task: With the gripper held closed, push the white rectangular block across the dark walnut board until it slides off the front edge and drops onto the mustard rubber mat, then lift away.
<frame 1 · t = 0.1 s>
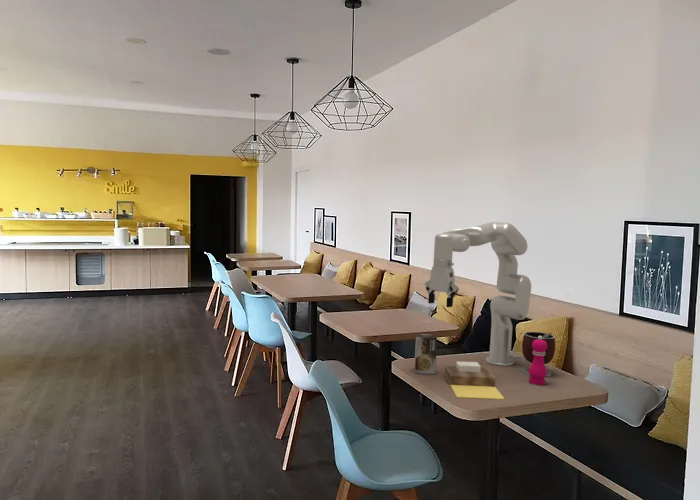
hand: (440, 305, 229), 31 cm above the table, tool pointing down, fingers open, 9 cm apart
mustard mat: (476, 392, 215), on the table
walnut board: (468, 381, 229), on the table
pepper mill: (536, 383, 231), on the table
white rectangular block: (468, 366, 232), point 5 cm above the table, touching walnut board
mate gourd: (537, 373, 245), on the table
coffee box: (424, 372, 240), on the table
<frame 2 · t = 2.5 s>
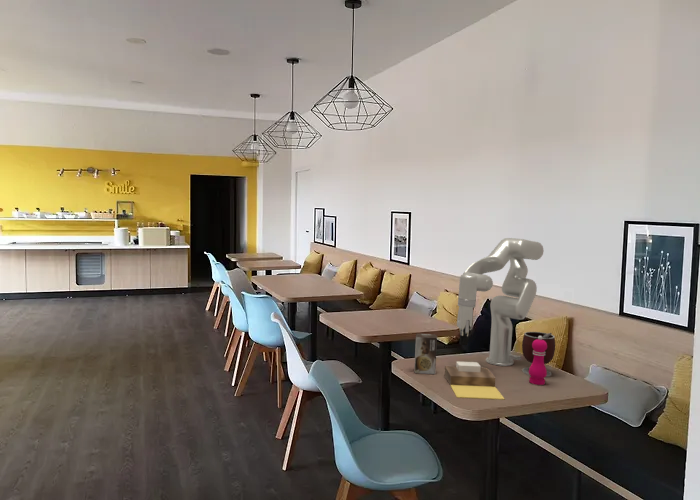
hand: (463, 344, 240), 12 cm above the table, tool pointing down, fingers closed
nothing on the table moved.
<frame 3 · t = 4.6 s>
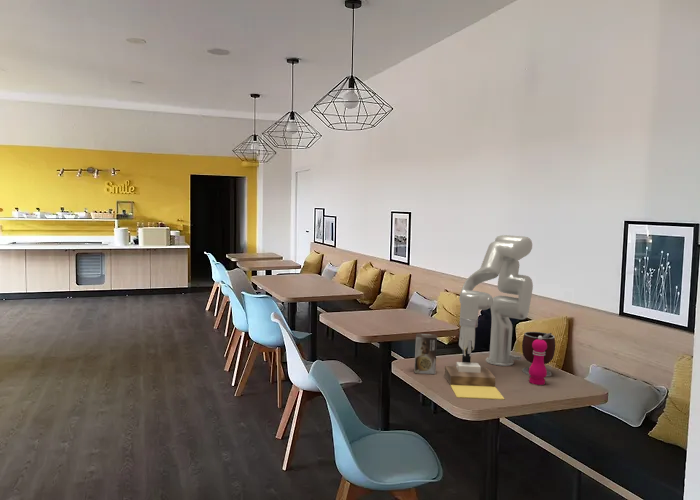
hand: (466, 364, 236), 5 cm above the table, tool pointing down, fingers closed
white rectangular block: (468, 367, 231), point 5 cm above the table, touching gripper, walnut board
everything else where it was.
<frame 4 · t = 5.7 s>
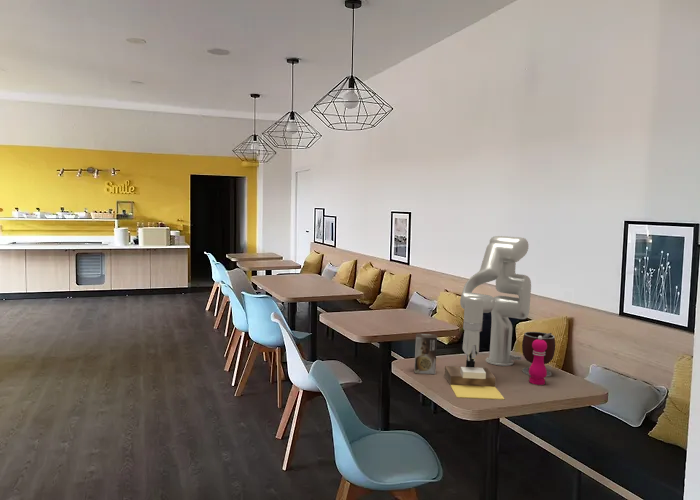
hand: (470, 370, 228), 5 cm above the table, tool pointing down, fingers closed
white rectangular block: (472, 372, 223), point 5 cm above the table, touching gripper
everything else where it was.
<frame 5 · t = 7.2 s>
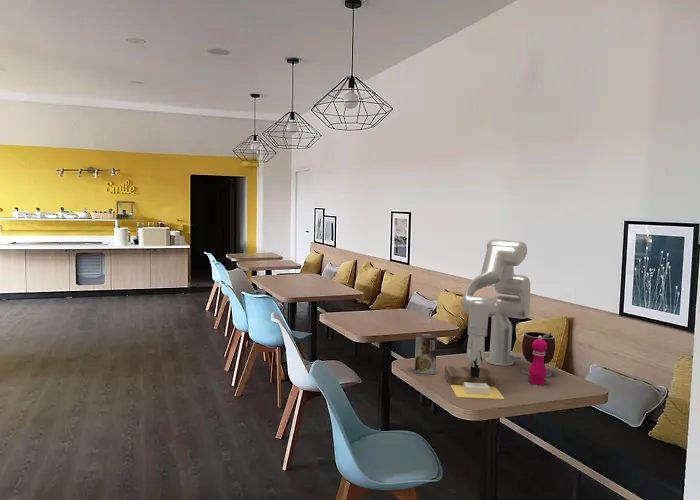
hand: (474, 376, 219), 5 cm above the table, tool pointing down, fingers closed
white rectangular block: (476, 388, 215), point 2 cm above the table, tilted 180°, touching mustard mat
everything else where it was.
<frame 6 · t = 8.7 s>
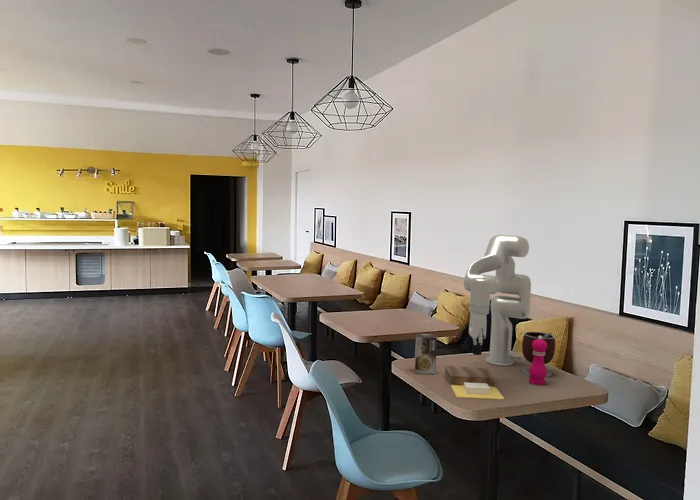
hand: (476, 354, 219), 14 cm above the table, tool pointing down, fingers closed
nothing on the table moved.
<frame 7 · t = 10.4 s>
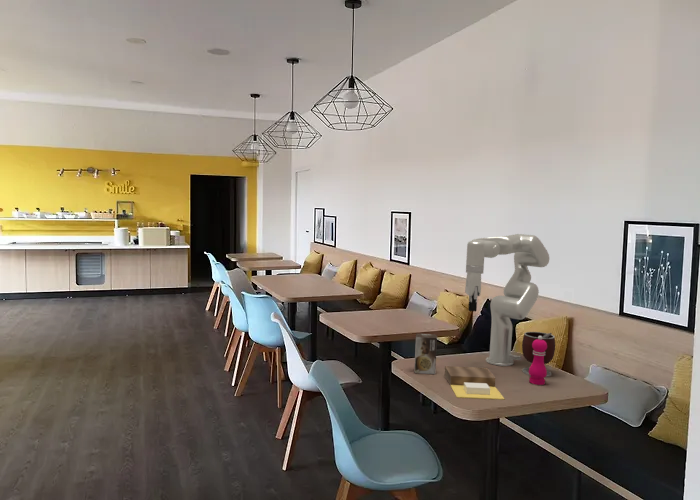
hand: (472, 310, 242), 27 cm above the table, tool pointing down, fingers closed
nothing on the table moved.
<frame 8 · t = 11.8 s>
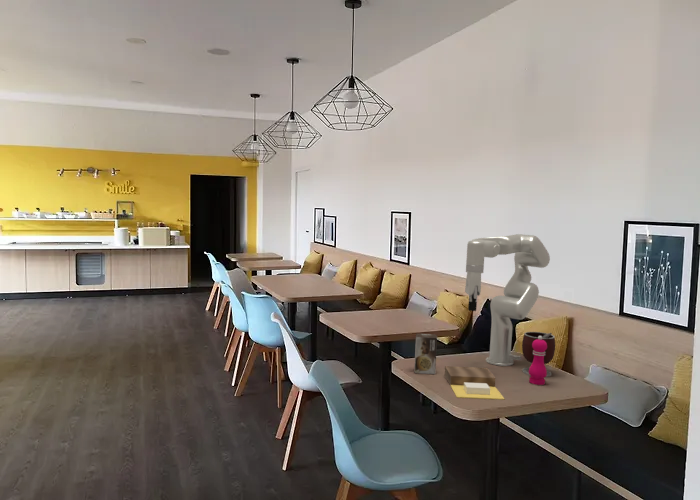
hand: (472, 310, 242), 27 cm above the table, tool pointing down, fingers closed
nothing on the table moved.
at the end: white rectangular block point 1.6 cm above the table; white rectangular block inside the target area on the mustard mat (0.1 cm from its centre), point 1.6 cm above the mustard mat's base; white rectangular block touching mustard mat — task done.
